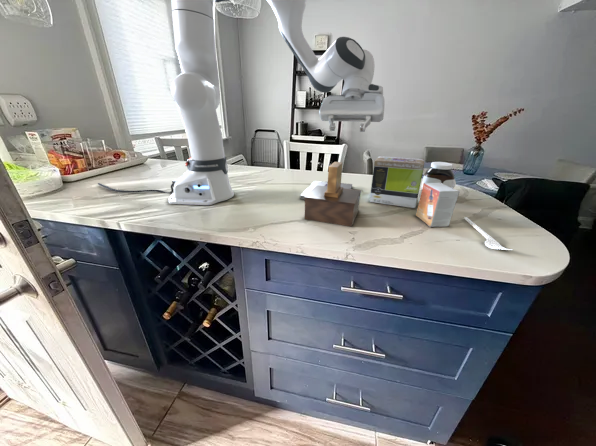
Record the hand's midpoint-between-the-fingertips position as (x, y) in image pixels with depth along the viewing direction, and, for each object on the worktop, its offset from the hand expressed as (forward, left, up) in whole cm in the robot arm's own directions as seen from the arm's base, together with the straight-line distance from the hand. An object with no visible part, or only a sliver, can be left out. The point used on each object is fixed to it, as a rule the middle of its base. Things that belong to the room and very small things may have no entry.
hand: (346, 130), depth 75 cm
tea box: (+18, -1, -24) cm, 30 cm away
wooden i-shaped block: (-6, -11, -17) cm, 21 cm away
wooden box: (-6, -11, -24) cm, 27 cm away
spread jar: (+39, +6, -24) cm, 47 cm away
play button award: (-3, +10, -24) cm, 26 cm away
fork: (+30, -28, -24) cm, 48 cm away
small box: (+22, -18, -24) cm, 37 cm away
